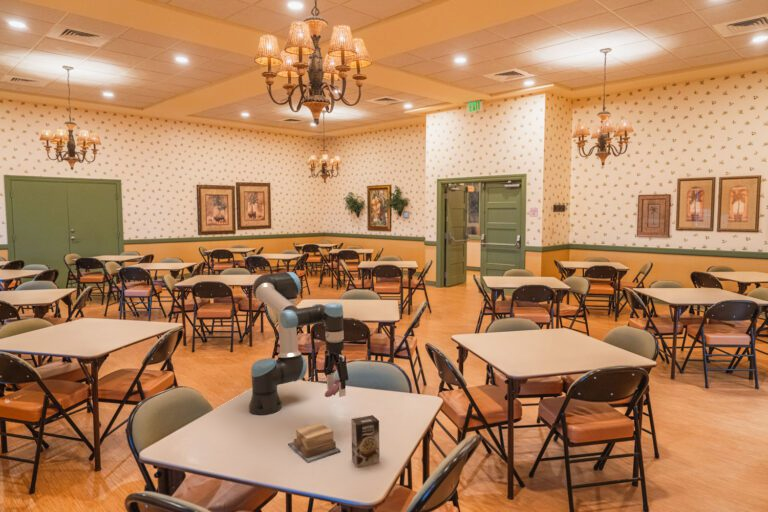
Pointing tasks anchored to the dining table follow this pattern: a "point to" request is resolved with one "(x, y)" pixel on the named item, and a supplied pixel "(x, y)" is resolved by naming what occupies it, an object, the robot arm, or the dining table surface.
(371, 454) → the coffee box
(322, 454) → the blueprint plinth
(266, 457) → the dining table surface
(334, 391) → the video game controller
